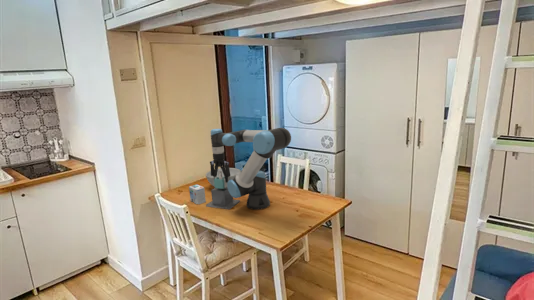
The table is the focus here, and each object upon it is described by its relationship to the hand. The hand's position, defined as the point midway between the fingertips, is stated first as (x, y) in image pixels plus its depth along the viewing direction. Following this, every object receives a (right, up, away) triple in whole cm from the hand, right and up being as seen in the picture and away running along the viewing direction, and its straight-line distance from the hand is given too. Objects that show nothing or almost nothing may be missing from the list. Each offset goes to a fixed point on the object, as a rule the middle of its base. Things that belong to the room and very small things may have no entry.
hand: (221, 186), depth 220 cm
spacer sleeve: (0, 0, 0) cm, 0 cm away
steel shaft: (0, -6, +1) cm, 6 cm away
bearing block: (+1, -12, +3) cm, 12 cm away
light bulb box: (-18, -12, +10) cm, 24 cm away
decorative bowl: (-3, -5, +37) cm, 37 cm away
